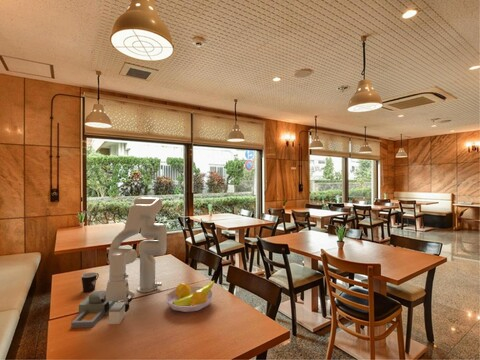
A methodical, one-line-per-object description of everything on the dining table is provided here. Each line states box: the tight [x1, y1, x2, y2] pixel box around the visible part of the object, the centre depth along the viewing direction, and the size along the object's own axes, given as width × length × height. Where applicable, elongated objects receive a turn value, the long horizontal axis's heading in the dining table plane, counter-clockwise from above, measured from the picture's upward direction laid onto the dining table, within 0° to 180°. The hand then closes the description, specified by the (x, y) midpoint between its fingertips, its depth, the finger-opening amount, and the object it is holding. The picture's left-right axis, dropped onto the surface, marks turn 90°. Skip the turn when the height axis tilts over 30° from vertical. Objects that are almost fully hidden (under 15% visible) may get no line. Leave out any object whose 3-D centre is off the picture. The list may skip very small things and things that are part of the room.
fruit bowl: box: [165, 280, 215, 313], centre depth 150 cm, size 28×27×11 cm
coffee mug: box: [80, 271, 100, 294], centre depth 169 cm, size 12×9×10 cm
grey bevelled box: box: [108, 301, 126, 325], centre depth 134 cm, size 5×8×7 cm, turn 4°
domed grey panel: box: [70, 289, 119, 329], centre depth 138 cm, size 16×24×8 cm
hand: (116, 311), depth 133 cm, fingers open, 9 cm apart
